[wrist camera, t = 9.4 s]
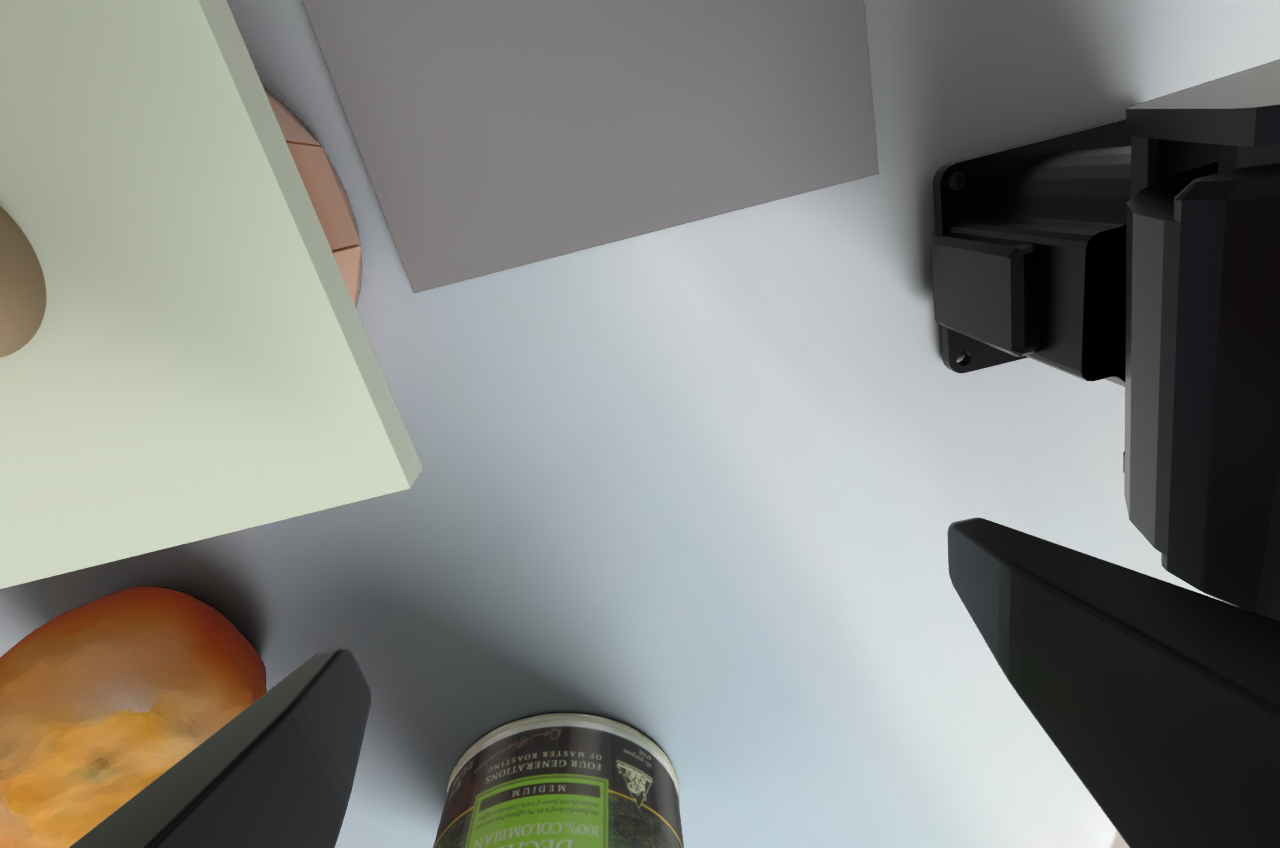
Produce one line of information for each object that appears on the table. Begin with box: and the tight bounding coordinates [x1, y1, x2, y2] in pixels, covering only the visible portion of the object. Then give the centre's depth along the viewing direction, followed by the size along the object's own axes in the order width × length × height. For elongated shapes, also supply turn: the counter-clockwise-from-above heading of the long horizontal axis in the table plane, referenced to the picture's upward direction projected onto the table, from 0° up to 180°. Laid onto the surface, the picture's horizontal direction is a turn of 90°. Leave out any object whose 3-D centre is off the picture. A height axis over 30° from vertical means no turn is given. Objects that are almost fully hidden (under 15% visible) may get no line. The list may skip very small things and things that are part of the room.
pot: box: [264, 89, 362, 308], centre depth 15 cm, size 10×10×6 cm
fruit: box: [0, 586, 267, 848], centre depth 20 cm, size 8×8×8 cm
